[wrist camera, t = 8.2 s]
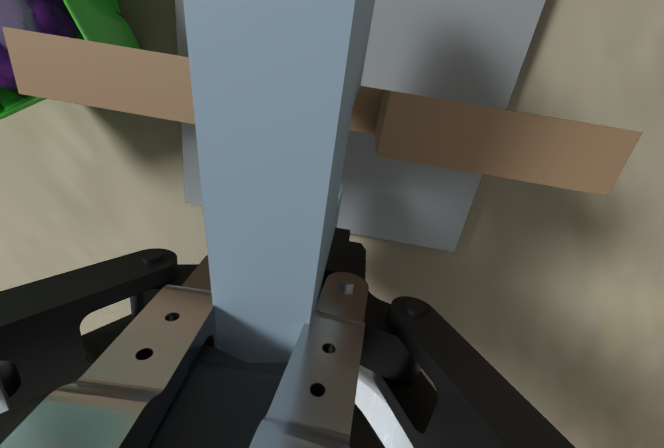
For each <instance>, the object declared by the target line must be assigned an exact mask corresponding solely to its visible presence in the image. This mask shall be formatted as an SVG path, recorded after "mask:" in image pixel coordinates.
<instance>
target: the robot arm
mask: <svg viewBox="0 0 664 448" xmlns="http://www.w3.org/2000/svg"><path fill="white" fill-rule="evenodd" d="M349 238H350V230H348V229H342V228H337V227H335V231H334V235H333V239H332V243H331V247H330V251H329V255H328V259H327V263H326V268H325V273H324V279H323V285H322V291H321V294H320V296H319V299H318V301H317V304H316V307H315V310H313V312H312V316H311V320H310V323H309V324H307V323H304V325H303V328H302V330H301V333H300V335H299V338H298V340H297V342H296V345H295V347H294V350H293V352H292V355H291V357H290V360H289V362H267V363H249V362H245V361H242V360H240V359H238V358H236V357H234V356H231V355H229V354H227V353H225V352H223V351H221V350H219V349H217V336H216V322H215V309H214V305H213V303H212V293H211V283H210V272H209V262H208V255H207V256H206V257H205V258H204V259H203V260H202V261H201V263H200V264H198V265H177V255H176V254H175V253H174V252H172V251H170V250H166V249H146V250H142V251H138V252H135V253H131V254H128V255H124V256H121V257H117V258H114V259H111V260H107V261H104V262H100V263H97V264H93V265H90V266H86V267H83V268H80V269H76V270H73V271H69V272H66V273H62V274H59V275H55V276H52V277H49V278H45V279H42V280H38V281H35V282H31V283H28V284H25V285H21V286H18V287H14V288H11V289H7V290H4V291H0V448H385V446H384V445H383V443H382V441H381V440H380V438H379V437H378V435H377V434H376V432H375V431H374V429H373V428H372V426H371V424H370V423H369V421H368V420H367V418H366V417H365V415H364V414H363V412H362V411H361V410H360V409H359V408H358V406H357V405H356V404H355V397H356V390H357V382H358V375H359V367H360V365H361V366H363V367H365V368H367V369H369V370H371V371H372V376H373V380H374V382H375V384H376V385H377V387H378V389H379V390H380V392H381V394H382V395H383V397H384V399H385V400H386V402H387V404H388V405H389V407H390V409H391V410H392V412H393V414H394V416H395V417H396V419H397V421H398V422H399V424H400V426H401V427H402V429H403V431H404V432H405V434H406V436H407V437H408V439H409V441H410V442H411V444H412V446H413V447H414V448H575V447H574V446H573V445H572V444H571V443H570V442H569V441H568V440H567V439H566V438H565V437H564V436H563V435H562V434H561V433H560V432H559V431H558V430H557V429H556V428H555V427H554V426H553V425H552V424H551V423H550V422H549V421H548V420H547V419H546V418H545V417H544V416H543V415H542V414H541V413H540V412H539V411H537V410H536V409H535V408H534V407H533V406H532V405H531V404H530V403H529V402H528V401H527V400H526V399H525V398H524V397H523V396H522V395H521V394H520V393H519V392H518V391H517V390H516V389H515V388H514V387H513V386H512V385H511V384H510V383H509V382H508V381H507V380H506V379H505V378H504V377H503V376H502V375H501V374H500V373H499V372H498V371H497V370H496V369H495V368H494V367H493V366H491V365H490V364H489V363H488V362H487V361H486V360H485V359H484V358H483V357H482V356H481V355H480V354H479V353H478V352H477V351H476V350H475V349H474V348H473V347H472V346H471V345H470V344H469V343H468V342H467V341H466V340H465V339H464V338H463V337H462V336H461V335H460V334H459V333H458V332H457V331H456V330H455V329H454V328H453V327H452V326H451V325H450V324H449V323H448V322H446V321H445V320H444V319H443V318H442V317H441V316H440V315H439V314H438V313H437V312H436V311H435V310H434V309H433V308H432V307H431V306H430V305H428V304H427V303H425V302H424V301H422V300H419V299H417V298H413V297H406V296H404V297H398V298H395V299H394V300H393V301H392V303H391V304H389V303H386V302H384V301H382V300H379V299H378V298H376V297H374V296H373V295H372V294H371V293H370V292H369V291H368V284H367V282H366V281H365V270H366V250H365V248H364V247H363V246H362V244H361V243H356V242H351V241H349ZM129 297H130V303H131V311H132V314H130V315H128V316H126V317H124V318H121V319H119V320H117V321H114V322H112V323H110V324H107V325H105V326H103V327H100V328H98V329H96V330H94V331H91V332H89V333H87V334H84V335H82V336H81V333H80V324H81V322H82V320H83V319H84V318H85V317H86V316H87V315H88V314H90V313H91V312H93V311H96V310H98V309H101V308H103V307H106V306H108V305H111V304H114V303H116V302H119V301H121V300H124V299H126V298H129ZM421 368H422V369H423V370H424V371H425V373H426V374H427V375H428V376H429V378H430V379H431V380H432V382H433V383H434V385H435V387H436V390H437V392H436V390H435V389H434V388H433V387H432V385H431V384H430V383H429V381H428V380H427V379H426V377H425V376H424V375H423V374H422V372H421V371H420V369H421Z"/></svg>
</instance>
